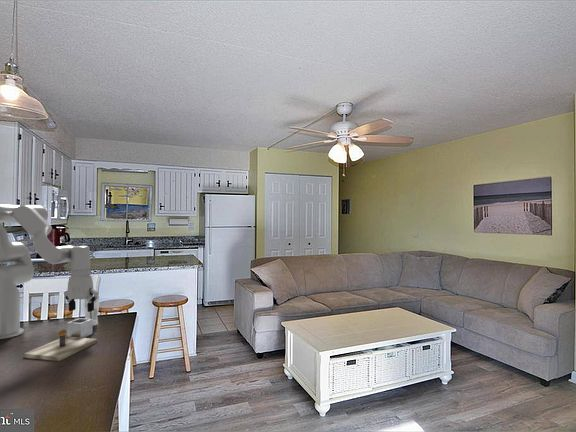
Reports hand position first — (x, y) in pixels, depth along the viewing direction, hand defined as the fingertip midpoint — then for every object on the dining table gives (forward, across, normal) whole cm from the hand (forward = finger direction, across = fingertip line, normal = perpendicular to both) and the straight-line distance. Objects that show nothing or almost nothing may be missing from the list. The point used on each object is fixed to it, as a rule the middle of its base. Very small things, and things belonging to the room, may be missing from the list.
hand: (81, 310), depth 152 cm
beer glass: (+12, -8, +15) cm, 20 cm away
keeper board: (+12, +4, -15) cm, 19 cm away
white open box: (+12, -1, 0) cm, 12 cm away
